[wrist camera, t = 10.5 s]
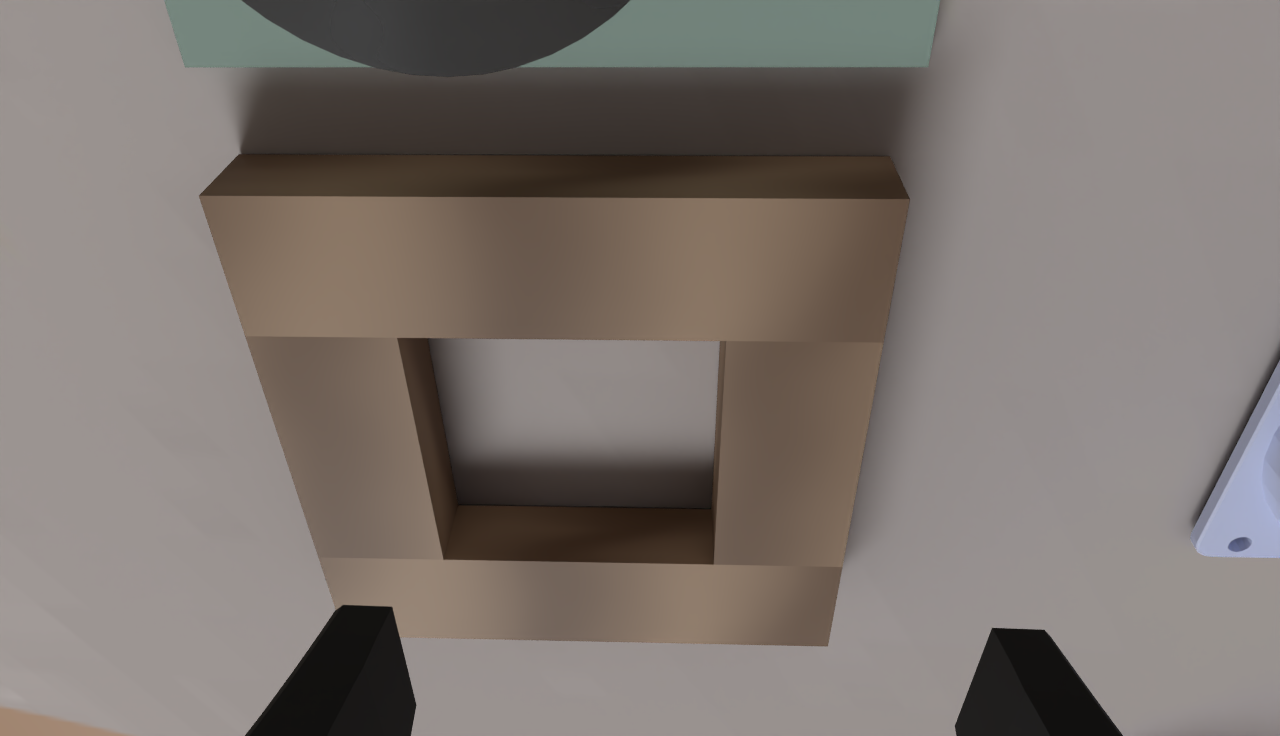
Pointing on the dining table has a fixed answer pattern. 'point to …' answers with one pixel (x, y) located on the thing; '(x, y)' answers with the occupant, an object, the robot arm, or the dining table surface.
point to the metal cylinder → (439, 30)
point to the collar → (580, 310)
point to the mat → (624, 35)
